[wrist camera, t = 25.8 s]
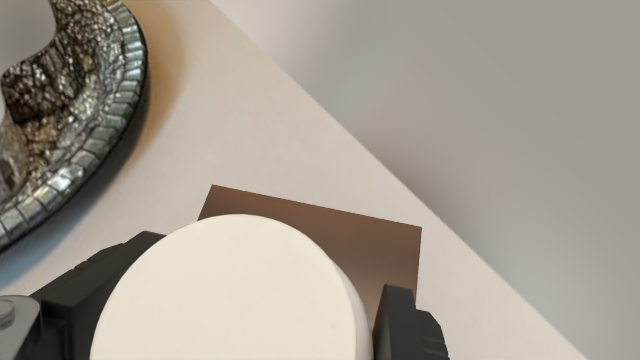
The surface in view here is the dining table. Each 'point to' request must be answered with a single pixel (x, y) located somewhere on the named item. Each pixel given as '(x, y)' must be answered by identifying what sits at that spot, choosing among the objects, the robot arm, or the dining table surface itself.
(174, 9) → the dining table surface
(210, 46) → the dining table surface
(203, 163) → the dining table surface
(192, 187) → the dining table surface
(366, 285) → the lid
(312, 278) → the pill bottle
